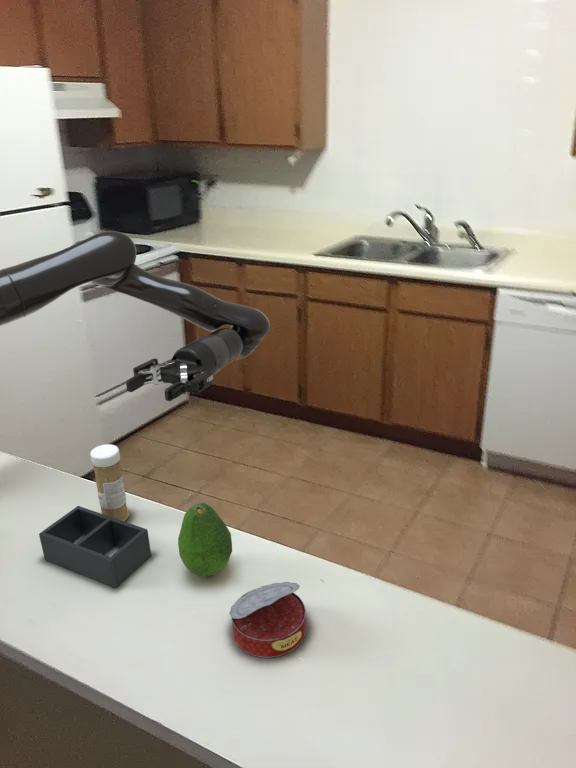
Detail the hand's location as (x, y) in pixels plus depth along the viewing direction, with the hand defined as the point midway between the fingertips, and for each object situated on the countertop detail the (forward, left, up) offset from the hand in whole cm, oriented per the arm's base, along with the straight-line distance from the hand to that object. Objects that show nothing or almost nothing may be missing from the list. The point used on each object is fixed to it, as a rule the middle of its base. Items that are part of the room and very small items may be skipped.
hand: (147, 391), depth 115 cm
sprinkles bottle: (0, -12, -19) cm, 22 cm away
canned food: (+36, -22, -19) cm, 46 cm away
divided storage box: (+4, -21, -19) cm, 29 cm away
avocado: (+22, -16, -19) cm, 33 cm away
